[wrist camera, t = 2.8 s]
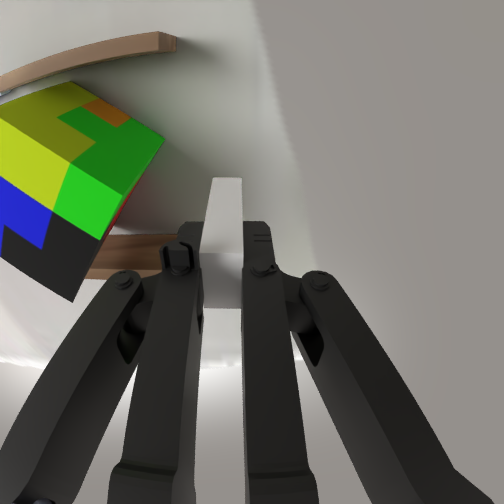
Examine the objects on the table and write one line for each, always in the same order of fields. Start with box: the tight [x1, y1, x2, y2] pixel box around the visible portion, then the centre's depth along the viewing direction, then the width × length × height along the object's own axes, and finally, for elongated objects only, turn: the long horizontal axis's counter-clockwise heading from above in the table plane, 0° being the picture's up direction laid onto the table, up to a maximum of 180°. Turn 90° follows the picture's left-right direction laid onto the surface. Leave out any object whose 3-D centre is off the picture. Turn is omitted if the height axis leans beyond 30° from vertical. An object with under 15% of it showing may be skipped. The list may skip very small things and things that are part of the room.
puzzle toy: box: [0, 81, 165, 303], centre depth 18 cm, size 10×10×10 cm
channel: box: [0, 31, 178, 280], centre depth 19 cm, size 18×15×5 cm
